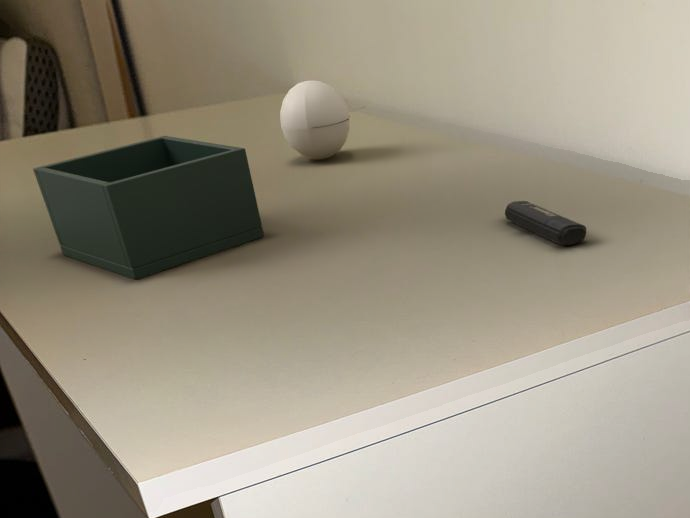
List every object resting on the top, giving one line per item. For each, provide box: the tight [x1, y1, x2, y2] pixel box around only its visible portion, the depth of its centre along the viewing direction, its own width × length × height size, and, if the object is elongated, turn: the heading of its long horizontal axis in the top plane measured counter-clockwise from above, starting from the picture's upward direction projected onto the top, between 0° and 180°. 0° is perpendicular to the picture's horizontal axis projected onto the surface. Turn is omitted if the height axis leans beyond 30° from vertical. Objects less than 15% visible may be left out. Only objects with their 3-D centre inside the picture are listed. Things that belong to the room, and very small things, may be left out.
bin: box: [32, 135, 265, 280], centre depth 77 cm, size 12×12×7 cm
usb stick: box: [504, 200, 587, 247], centre depth 73 cm, size 10×3×2 cm, turn 26°
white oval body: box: [279, 80, 366, 160], centre depth 99 cm, size 10×7×7 cm
